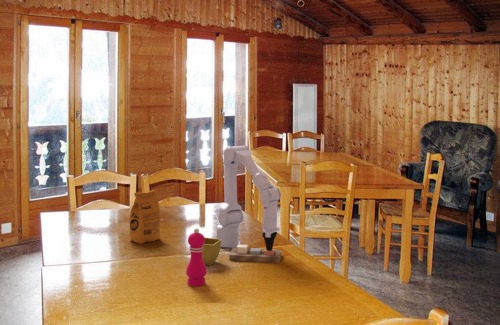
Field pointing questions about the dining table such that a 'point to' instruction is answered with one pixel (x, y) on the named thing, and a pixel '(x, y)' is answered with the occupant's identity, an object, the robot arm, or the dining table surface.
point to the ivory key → (242, 249)
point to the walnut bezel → (255, 256)
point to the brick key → (269, 252)
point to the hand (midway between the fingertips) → (269, 250)
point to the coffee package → (145, 218)
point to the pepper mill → (196, 260)
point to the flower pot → (211, 250)
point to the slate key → (255, 251)
